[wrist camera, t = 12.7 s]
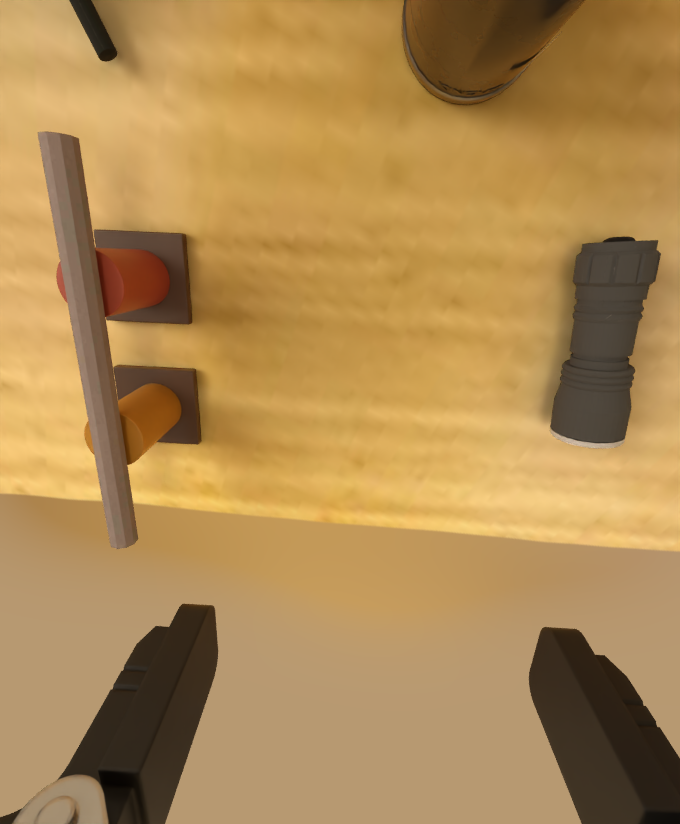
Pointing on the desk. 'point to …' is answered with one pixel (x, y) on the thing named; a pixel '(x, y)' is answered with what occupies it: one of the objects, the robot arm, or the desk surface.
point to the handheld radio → (94, 29)
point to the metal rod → (89, 328)
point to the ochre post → (155, 408)
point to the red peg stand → (142, 276)
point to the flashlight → (603, 341)
